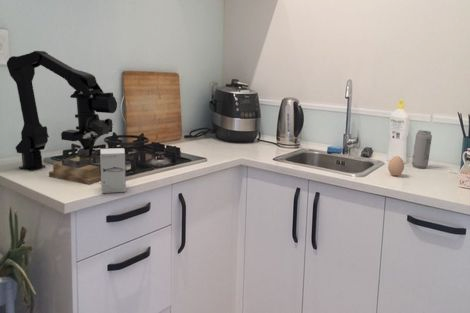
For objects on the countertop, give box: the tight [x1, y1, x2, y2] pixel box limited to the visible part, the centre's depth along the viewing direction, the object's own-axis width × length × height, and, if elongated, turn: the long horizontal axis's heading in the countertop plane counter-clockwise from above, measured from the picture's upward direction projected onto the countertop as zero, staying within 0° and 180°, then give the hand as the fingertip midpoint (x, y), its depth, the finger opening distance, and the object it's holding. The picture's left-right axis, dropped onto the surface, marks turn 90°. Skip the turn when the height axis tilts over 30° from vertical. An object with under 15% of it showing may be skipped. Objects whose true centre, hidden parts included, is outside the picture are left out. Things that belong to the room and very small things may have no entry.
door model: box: [48, 150, 101, 185], centre depth 146 cm, size 18×16×6 cm
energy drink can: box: [411, 129, 433, 169], centre depth 172 cm, size 6×6×15 cm
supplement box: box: [99, 147, 127, 194], centre depth 130 cm, size 7×7×13 cm
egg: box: [387, 155, 405, 177], centre depth 159 cm, size 6×6×8 cm
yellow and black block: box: [69, 147, 91, 163], centre depth 143 cm, size 4×6×5 cm, turn 155°
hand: (89, 155), depth 147 cm, fingers closed
